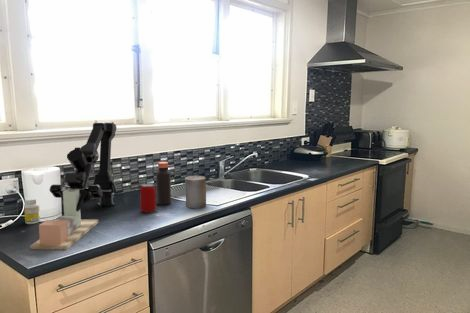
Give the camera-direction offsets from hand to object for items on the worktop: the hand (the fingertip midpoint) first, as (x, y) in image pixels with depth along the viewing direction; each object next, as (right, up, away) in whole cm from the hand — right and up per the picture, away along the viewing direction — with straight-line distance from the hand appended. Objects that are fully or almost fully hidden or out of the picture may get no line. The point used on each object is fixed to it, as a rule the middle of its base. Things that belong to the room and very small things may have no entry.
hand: (70, 210), depth 138 cm
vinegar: (+27, -3, +41) cm, 49 cm away
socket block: (0, -9, -12) cm, 15 cm away
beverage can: (+22, -4, +29) cm, 37 cm away
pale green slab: (0, -7, -4) cm, 8 cm away
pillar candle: (+43, -3, +38) cm, 57 cm away
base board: (0, -8, -2) cm, 9 cm away
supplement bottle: (-20, -6, +12) cm, 24 cm away
